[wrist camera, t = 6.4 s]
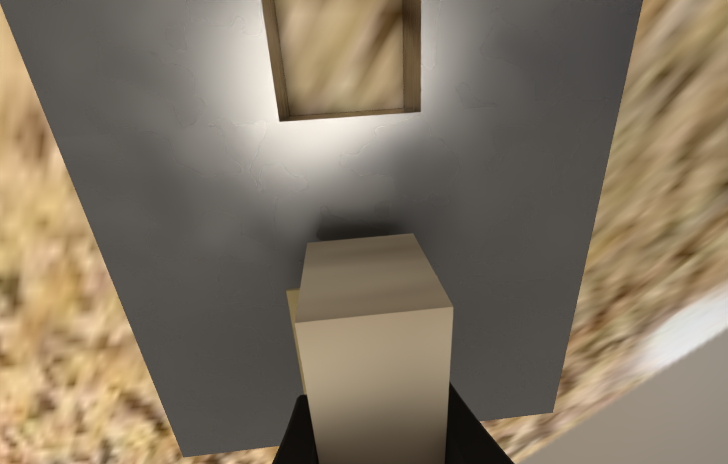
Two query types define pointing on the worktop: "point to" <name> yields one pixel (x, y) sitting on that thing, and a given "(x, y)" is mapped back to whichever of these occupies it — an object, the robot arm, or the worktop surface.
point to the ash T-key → (375, 351)
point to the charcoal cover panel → (330, 185)
